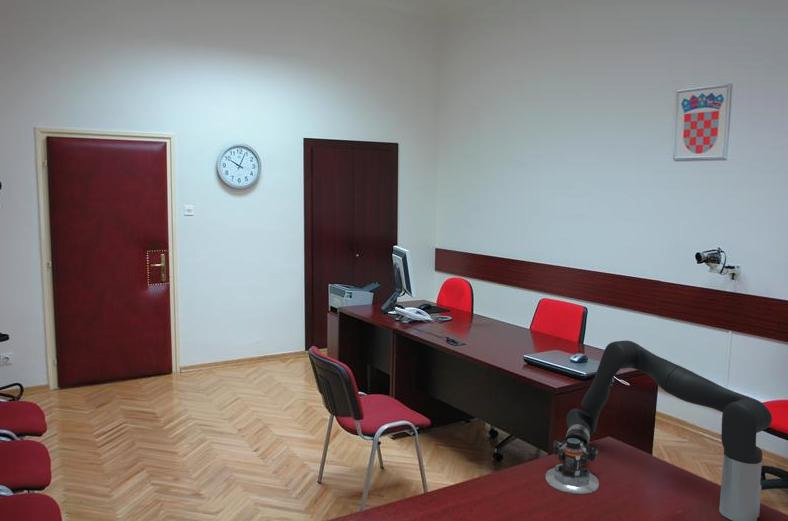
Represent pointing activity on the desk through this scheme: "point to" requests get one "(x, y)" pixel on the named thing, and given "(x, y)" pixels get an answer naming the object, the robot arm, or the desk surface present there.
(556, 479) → the steel collar
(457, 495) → the desk surface
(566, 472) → the supplement bottle
